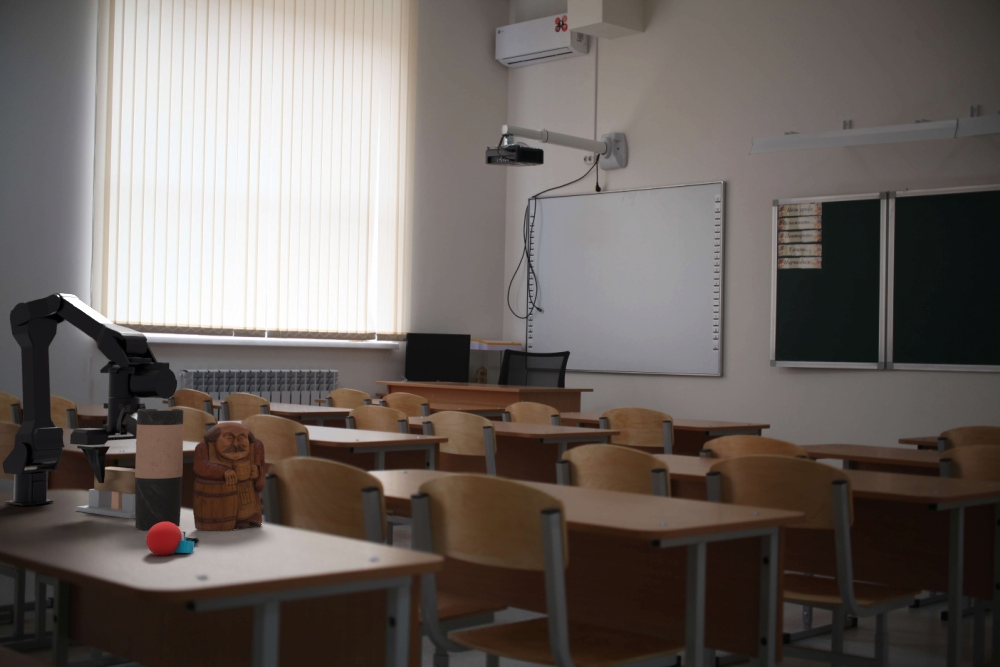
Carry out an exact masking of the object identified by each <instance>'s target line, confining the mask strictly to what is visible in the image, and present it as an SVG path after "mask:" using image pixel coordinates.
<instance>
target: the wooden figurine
mask: <svg viewBox="0 0 1000 667" xmlns="http://www.w3.org/2000/svg"><path fill="white" fill-rule="evenodd" d="M202 438H203V439H202V440H201V441H200V442H199V443H198V444H197V445H195V448H194V453H193V454H194V455H193V466H192V470H193V471H194V474H195V475H196V476H197V477H195V479H194V483H193V490H192V492H193V493H192V513H193V519H194V526H195V529H196V530H197V531H204V532H231V530H232V531H235V529H236V530H243V529H248V528H249V529H251V527H260V526H261V525H263V517H262V516H263V514H262V513H263V512H262V510H263V509H262V501H261V496H260V493H261V492H263V490H264V489H265V487H266V469H265V467H266V460H265V458H266V457H265V456H266V454H265V446H264V442H263V441H262V440H261V439H260V438H257V437H255V434H253V432H252V431H251V429H250V428H249V427H248V426H246V425H244V424H242V423H240V422H235V421H226V422H225V421H224V422H220V423H216V424H214V425H213V426H212V427H210V428H209V429H208V431H206V432H205V433H204V435H203V437H202ZM261 523H262V524H261Z"/></svg>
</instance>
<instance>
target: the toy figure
mask: <svg viewBox="0 0 1000 667" xmlns="http://www.w3.org/2000/svg"><path fill="white" fill-rule="evenodd" d="M186 533H187V532H186V531H183V530H182V528H180V526H179V527H178V526H176V525H175V524H173V523H171V522H160V523H157V524H155V525H154V526H153V527H152V528H151V529H150V530H149V531H147V534H146V539H145V543H146V547H147V549H148V550H149V551H150V552H151V553H153V554H154V555H156V556H170V555H172V554H174V553H183V554H184V553H185V554H192V553H193V552H194V546H195V544H198V543H199V542H200V540H199V538H198V537H187V536H186Z"/></svg>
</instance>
